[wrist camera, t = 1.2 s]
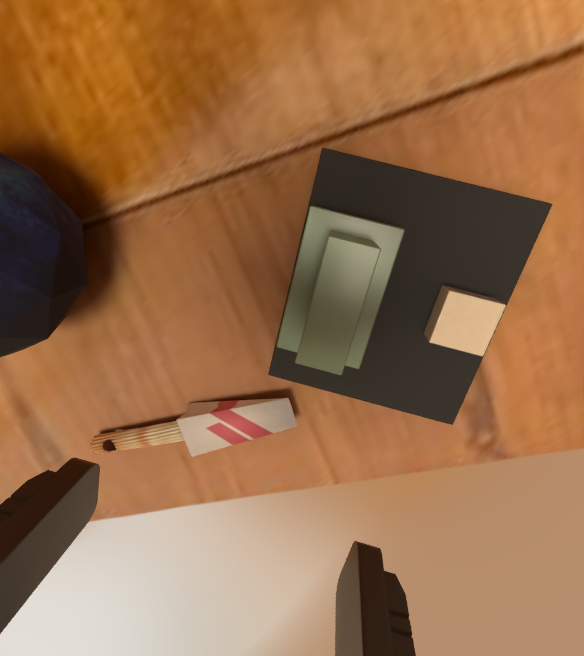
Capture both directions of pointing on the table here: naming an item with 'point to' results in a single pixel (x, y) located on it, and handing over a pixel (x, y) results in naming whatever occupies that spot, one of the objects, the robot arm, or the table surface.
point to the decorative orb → (35, 258)
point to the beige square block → (463, 320)
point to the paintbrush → (206, 426)
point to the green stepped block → (337, 288)
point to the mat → (420, 277)
